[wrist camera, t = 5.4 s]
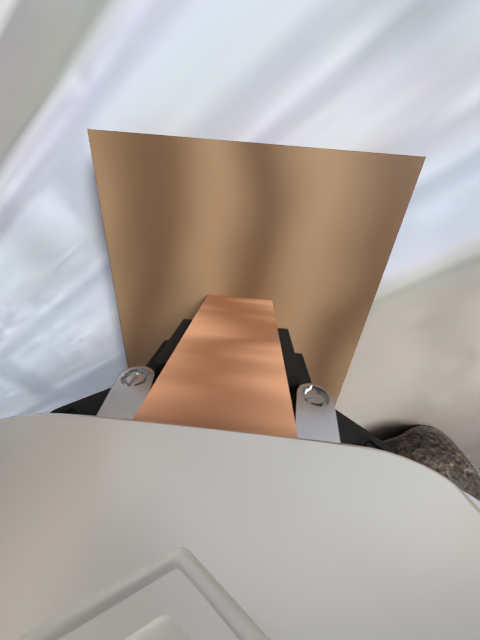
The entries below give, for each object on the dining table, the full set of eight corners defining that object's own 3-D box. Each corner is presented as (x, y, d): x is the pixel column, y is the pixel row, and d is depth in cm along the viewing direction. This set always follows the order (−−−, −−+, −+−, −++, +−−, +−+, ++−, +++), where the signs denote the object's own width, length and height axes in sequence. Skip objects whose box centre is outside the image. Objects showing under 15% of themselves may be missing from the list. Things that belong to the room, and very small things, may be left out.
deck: (400, 165, 12) (425, 156, 10) (282, 523, 29) (284, 544, 27) (111, 141, 12) (87, 129, 11) (161, 508, 29) (155, 528, 27)
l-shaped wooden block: (272, 300, 14) (303, 464, 5) (245, 473, 21) (238, 660, 12) (208, 294, 14) (118, 442, 5) (204, 468, 22) (168, 651, 13)
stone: (389, 447, 27) (519, 495, 19) (358, 513, 23) (509, 613, 14) (359, 383, 25) (491, 404, 17) (319, 442, 21) (468, 510, 12)
